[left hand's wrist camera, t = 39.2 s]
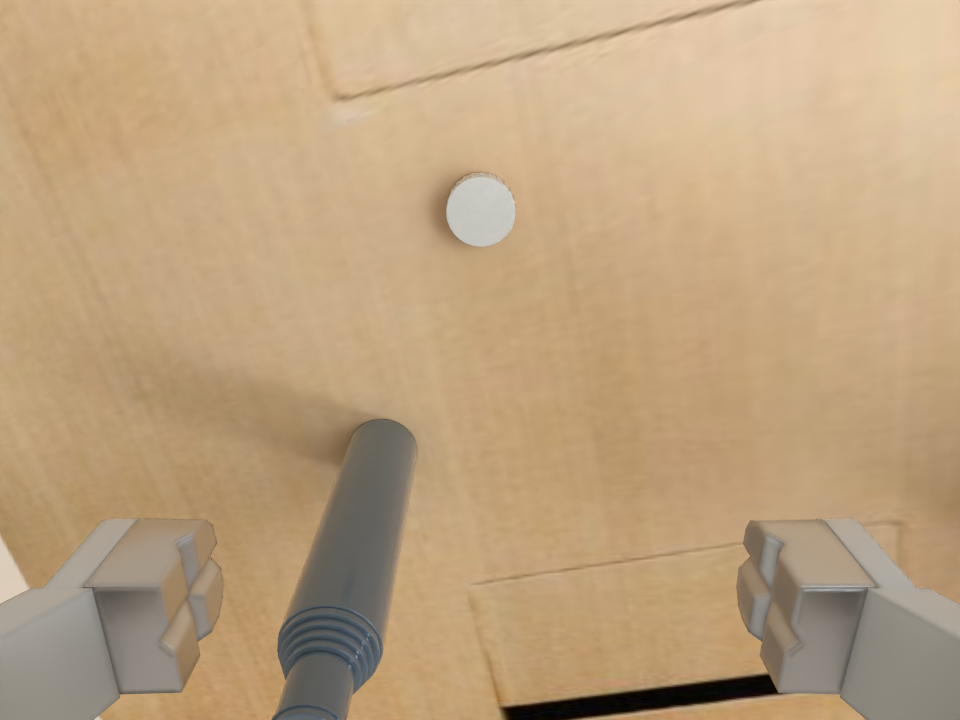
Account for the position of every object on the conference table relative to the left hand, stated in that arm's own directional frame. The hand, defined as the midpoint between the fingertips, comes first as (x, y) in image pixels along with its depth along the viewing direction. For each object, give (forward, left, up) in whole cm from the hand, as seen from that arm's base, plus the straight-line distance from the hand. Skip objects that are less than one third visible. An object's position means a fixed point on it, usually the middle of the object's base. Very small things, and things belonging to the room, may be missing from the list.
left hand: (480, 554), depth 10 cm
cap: (0, 0, -31) cm, 31 cm away
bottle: (-9, +16, -33) cm, 38 cm away
